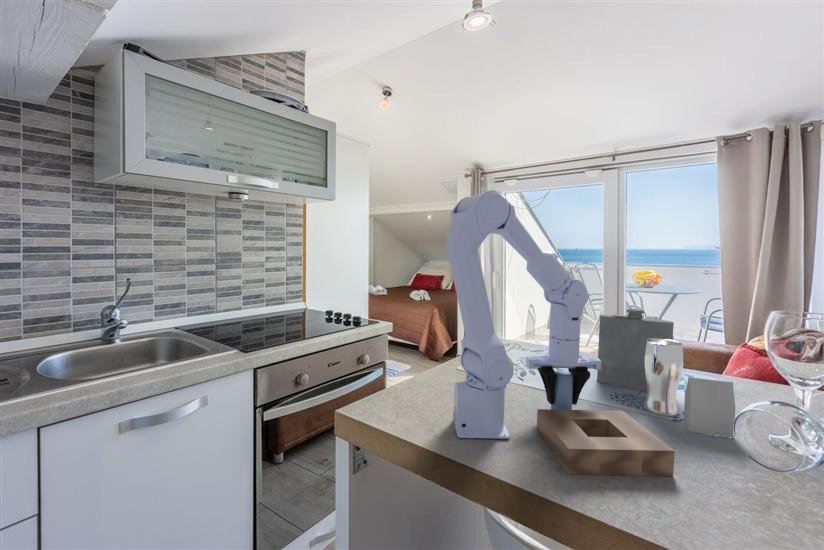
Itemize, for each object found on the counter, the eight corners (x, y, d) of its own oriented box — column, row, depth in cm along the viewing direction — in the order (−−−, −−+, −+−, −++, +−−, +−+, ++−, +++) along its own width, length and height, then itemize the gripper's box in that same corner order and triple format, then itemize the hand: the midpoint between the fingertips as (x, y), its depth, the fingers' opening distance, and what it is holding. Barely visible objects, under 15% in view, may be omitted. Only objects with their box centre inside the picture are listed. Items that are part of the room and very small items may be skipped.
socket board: (567, 474, 56) (568, 448, 55) (536, 429, 70) (537, 409, 69) (673, 476, 55) (674, 450, 55) (621, 431, 69) (622, 410, 69)
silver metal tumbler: (662, 418, 75) (666, 346, 74) (633, 405, 82) (637, 338, 81) (688, 415, 77) (692, 344, 76) (658, 402, 84) (661, 337, 83)
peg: (555, 420, 73) (556, 376, 73) (547, 412, 77) (549, 370, 77) (575, 421, 73) (576, 377, 73) (566, 412, 77) (568, 370, 77)
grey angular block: (733, 438, 67) (736, 385, 67) (688, 431, 70) (691, 380, 69) (725, 430, 71) (728, 379, 70) (683, 423, 73) (686, 374, 73)
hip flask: (669, 391, 90) (674, 311, 89) (669, 396, 87) (674, 313, 86) (597, 378, 99) (601, 305, 98) (595, 382, 96) (599, 306, 95)
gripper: (590, 333, 78) (587, 395, 79) (522, 332, 79) (520, 394, 79) (607, 341, 71) (604, 409, 72) (533, 340, 71) (531, 408, 72)
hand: (561, 402), depth 75 cm, fingers closed on peg, 4 cm apart
